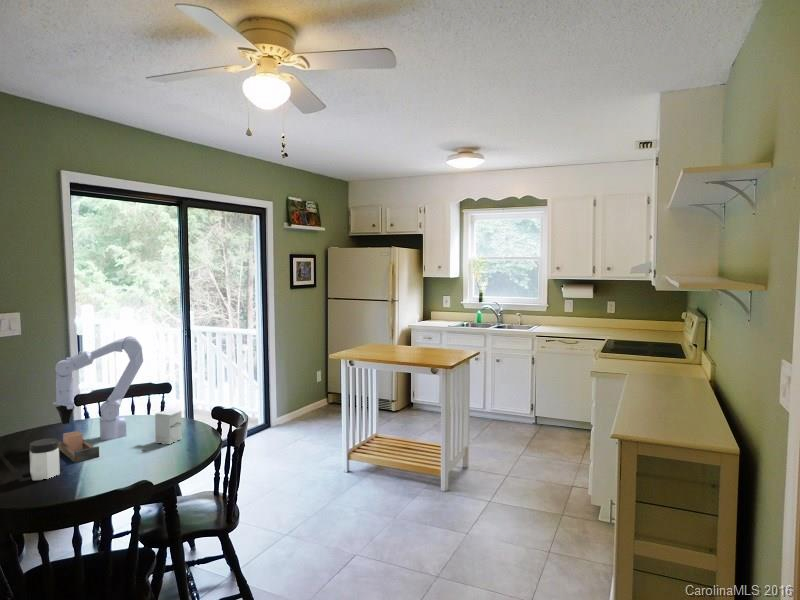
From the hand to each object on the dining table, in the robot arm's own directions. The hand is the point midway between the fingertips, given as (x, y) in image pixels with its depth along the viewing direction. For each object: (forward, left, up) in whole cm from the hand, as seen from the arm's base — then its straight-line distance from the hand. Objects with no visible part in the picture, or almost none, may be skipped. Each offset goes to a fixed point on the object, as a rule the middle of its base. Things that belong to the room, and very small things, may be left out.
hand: (65, 423), depth 208 cm
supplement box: (-31, +24, -10) cm, 40 cm away
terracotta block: (0, +9, -8) cm, 12 cm away
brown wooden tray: (0, +15, -9) cm, 18 cm away
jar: (+14, +29, -10) cm, 34 cm away
